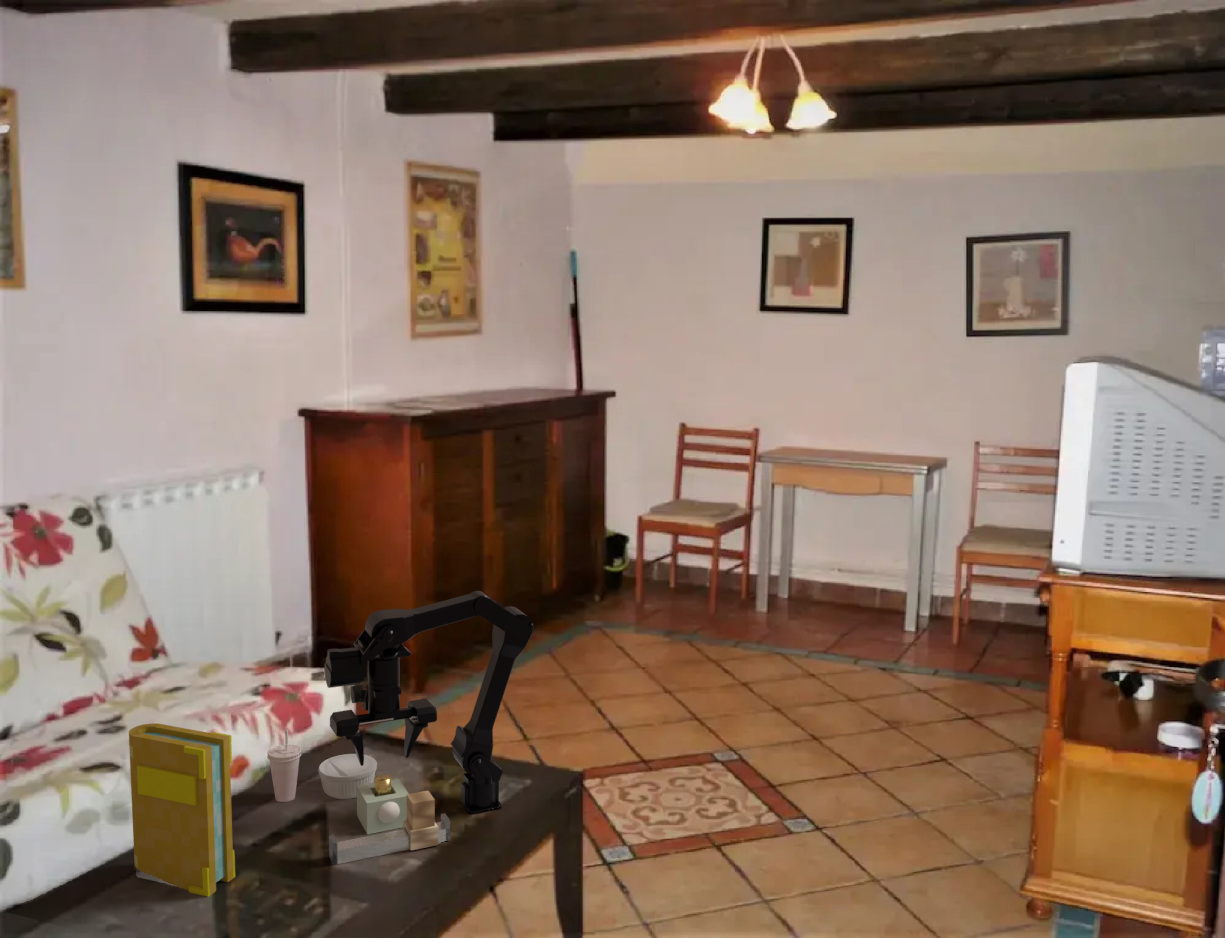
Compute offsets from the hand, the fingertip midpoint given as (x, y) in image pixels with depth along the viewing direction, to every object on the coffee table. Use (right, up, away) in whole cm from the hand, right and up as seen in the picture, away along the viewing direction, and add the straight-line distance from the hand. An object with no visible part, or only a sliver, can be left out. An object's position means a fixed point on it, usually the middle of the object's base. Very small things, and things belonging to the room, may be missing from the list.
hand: (384, 760), depth 199 cm
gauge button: (-1, -8, +2) cm, 8 cm away
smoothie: (-22, -10, +11) cm, 26 cm away
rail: (+3, -13, -8) cm, 16 cm away
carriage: (+8, -13, -6) cm, 16 cm away
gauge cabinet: (-1, -12, +2) cm, 12 cm away
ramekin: (-10, -10, +15) cm, 21 cm away
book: (-30, -15, -19) cm, 38 cm away
